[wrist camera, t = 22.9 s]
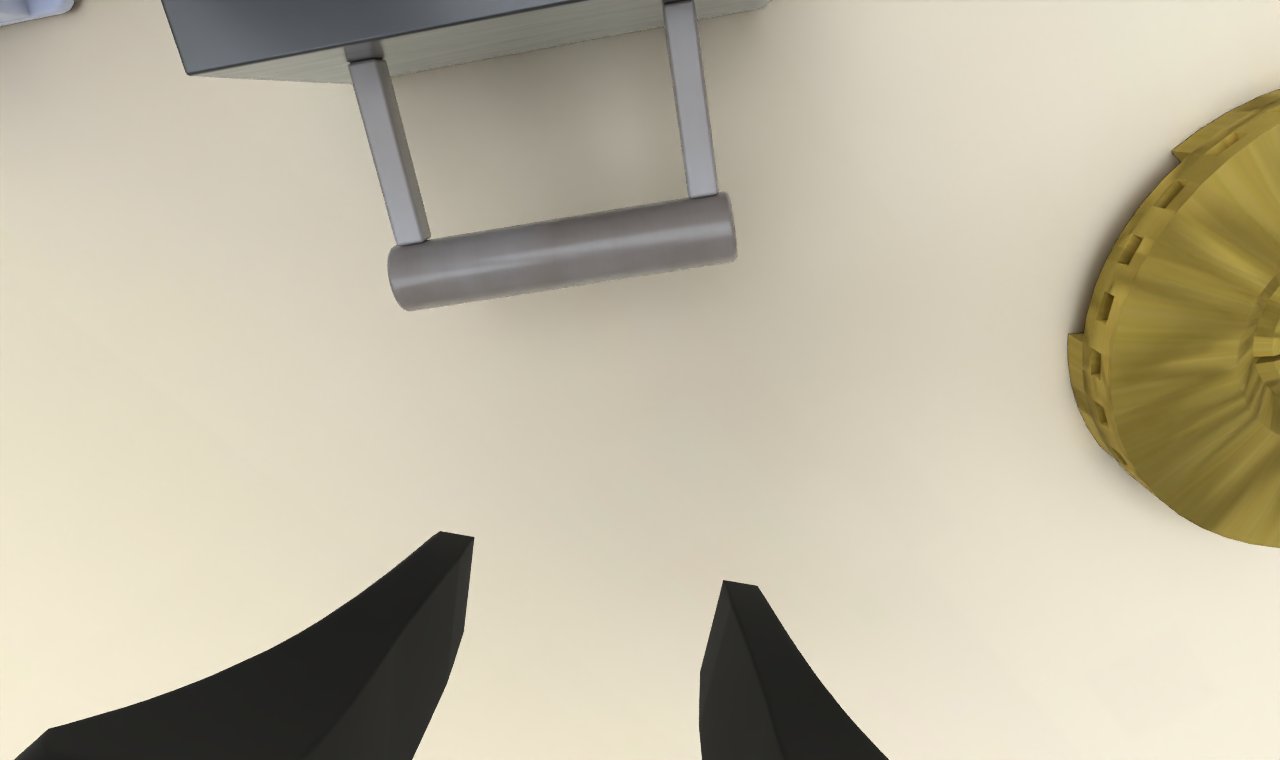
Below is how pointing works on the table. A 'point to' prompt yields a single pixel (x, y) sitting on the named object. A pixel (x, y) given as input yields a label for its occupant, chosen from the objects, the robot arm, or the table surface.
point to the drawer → (460, 33)
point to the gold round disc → (1196, 332)
